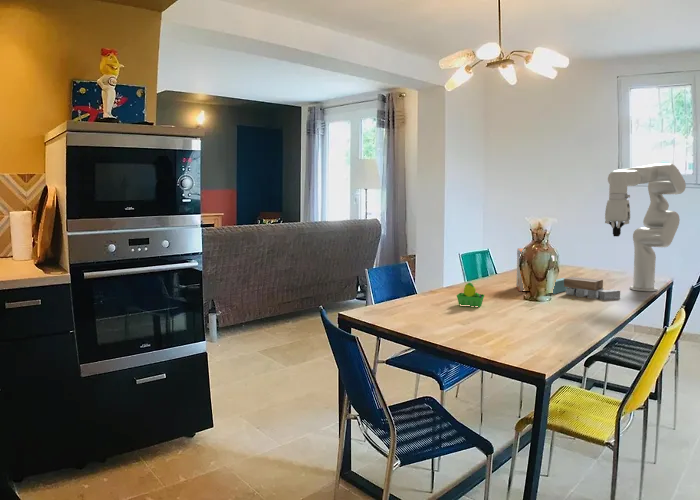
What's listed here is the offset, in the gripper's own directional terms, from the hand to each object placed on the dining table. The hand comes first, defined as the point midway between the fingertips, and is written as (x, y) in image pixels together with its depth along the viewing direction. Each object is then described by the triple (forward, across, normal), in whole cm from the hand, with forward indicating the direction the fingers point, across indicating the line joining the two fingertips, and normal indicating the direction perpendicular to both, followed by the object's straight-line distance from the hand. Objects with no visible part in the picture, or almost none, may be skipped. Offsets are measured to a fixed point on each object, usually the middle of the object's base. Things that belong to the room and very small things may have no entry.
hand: (616, 236), depth 257 cm
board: (+25, +12, +6) cm, 29 cm away
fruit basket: (+29, +37, +64) cm, 80 cm away
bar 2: (+29, +12, +6) cm, 32 cm away
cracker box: (+29, +41, +12) cm, 52 cm away
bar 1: (+29, +17, +6) cm, 35 cm away
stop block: (+29, +25, +6) cm, 39 cm away
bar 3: (+29, +6, +6) cm, 31 cm away
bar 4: (+29, 0, +6) cm, 30 cm away
